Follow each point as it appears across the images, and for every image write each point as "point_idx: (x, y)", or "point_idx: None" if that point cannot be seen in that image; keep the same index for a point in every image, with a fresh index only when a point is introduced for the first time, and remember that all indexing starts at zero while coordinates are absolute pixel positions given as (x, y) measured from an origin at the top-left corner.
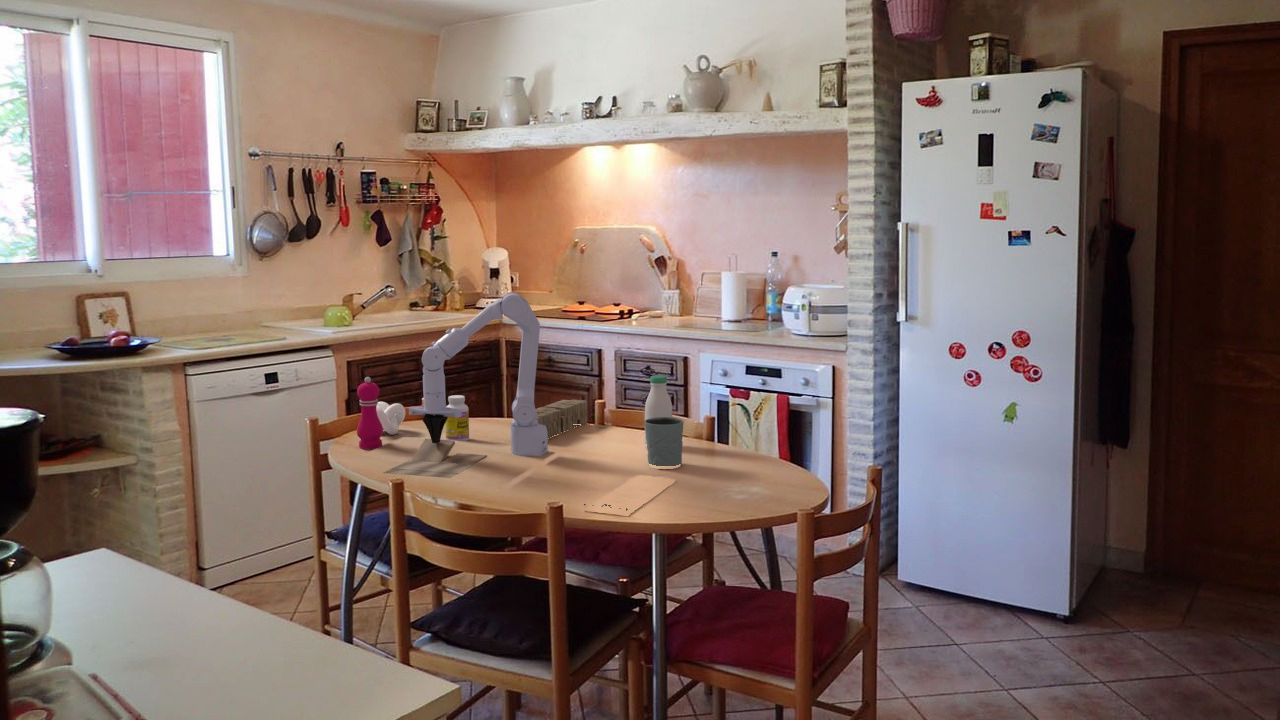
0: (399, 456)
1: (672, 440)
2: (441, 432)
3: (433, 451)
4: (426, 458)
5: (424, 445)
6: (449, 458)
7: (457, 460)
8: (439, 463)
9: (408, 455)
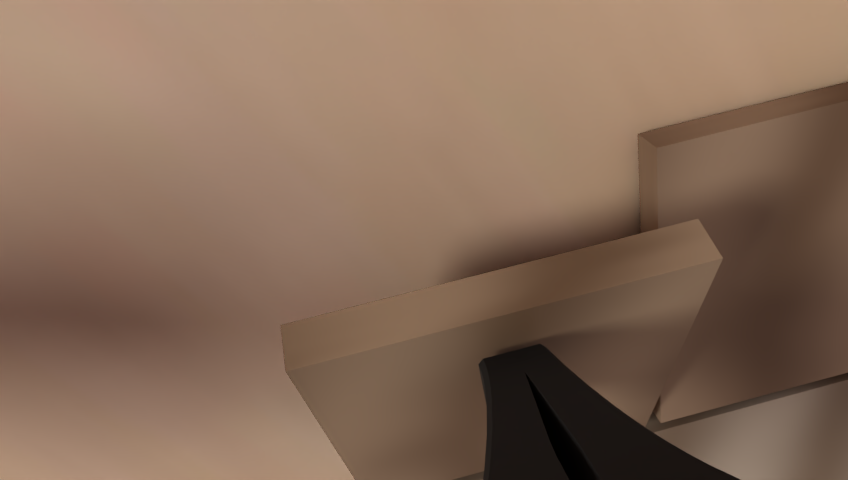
0: (41, 374)
1: None
2: (613, 413)
3: None
4: None
5: (367, 416)
6: None
7: (765, 332)
8: None
9: (83, 304)
